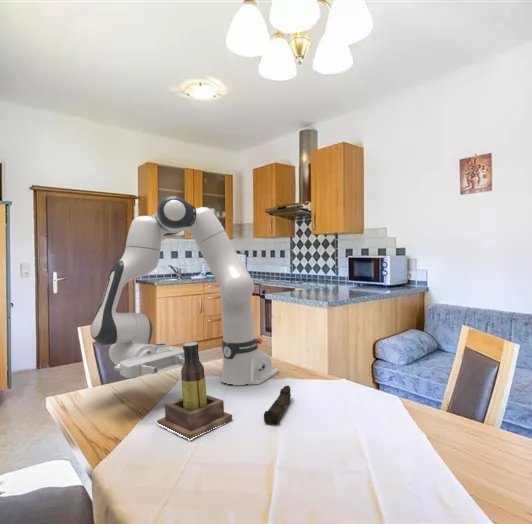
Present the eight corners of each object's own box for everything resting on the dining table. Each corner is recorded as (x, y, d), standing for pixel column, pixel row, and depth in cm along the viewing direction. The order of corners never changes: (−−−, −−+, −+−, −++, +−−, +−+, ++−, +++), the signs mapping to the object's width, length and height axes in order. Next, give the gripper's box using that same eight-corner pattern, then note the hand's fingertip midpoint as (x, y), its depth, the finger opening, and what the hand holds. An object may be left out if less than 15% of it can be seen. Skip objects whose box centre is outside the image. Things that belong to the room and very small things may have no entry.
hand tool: (278, 427, 95) (277, 409, 95) (263, 425, 97) (262, 407, 97) (298, 399, 113) (297, 384, 113) (285, 398, 114) (285, 383, 114)
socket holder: (199, 407, 109) (198, 389, 109) (232, 420, 100) (231, 400, 100) (157, 425, 98) (156, 405, 98) (190, 441, 89) (189, 418, 89)
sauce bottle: (203, 410, 103) (199, 339, 103) (211, 418, 98) (207, 343, 98) (180, 416, 100) (176, 342, 100) (187, 425, 95) (183, 347, 94)
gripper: (110, 356, 107) (135, 364, 98) (170, 342, 122) (197, 347, 113) (111, 378, 107) (136, 388, 98) (171, 361, 122) (198, 368, 113)
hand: (169, 366), depth 106 cm, fingers open, 8 cm apart
